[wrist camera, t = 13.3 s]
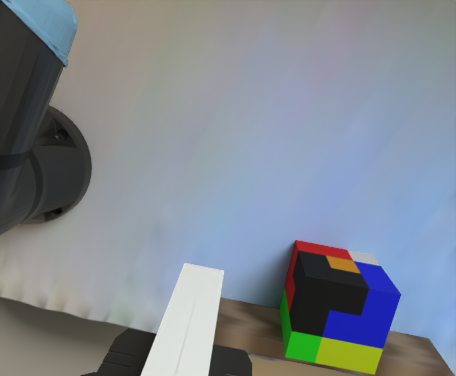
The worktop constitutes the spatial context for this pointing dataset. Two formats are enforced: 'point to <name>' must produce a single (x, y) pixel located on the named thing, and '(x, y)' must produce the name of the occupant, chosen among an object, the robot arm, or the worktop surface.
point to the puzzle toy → (336, 307)
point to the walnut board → (273, 347)
